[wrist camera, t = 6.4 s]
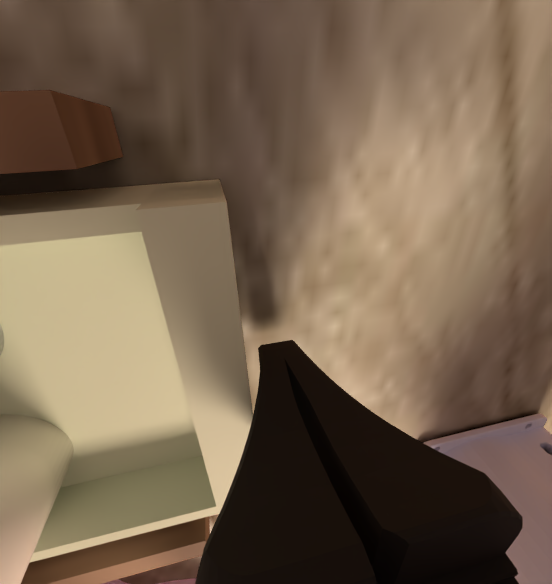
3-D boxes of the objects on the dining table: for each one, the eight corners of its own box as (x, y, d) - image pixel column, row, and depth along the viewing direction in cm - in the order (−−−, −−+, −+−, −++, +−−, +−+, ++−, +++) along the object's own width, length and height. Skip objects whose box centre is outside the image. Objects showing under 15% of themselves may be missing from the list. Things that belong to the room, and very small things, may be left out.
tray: (219, 179, 9) (226, 201, 6) (253, 440, 15) (265, 517, 12) (-321, 220, 7) (-729, 286, 4) (-29, 503, 13) (-100, 615, 10)
